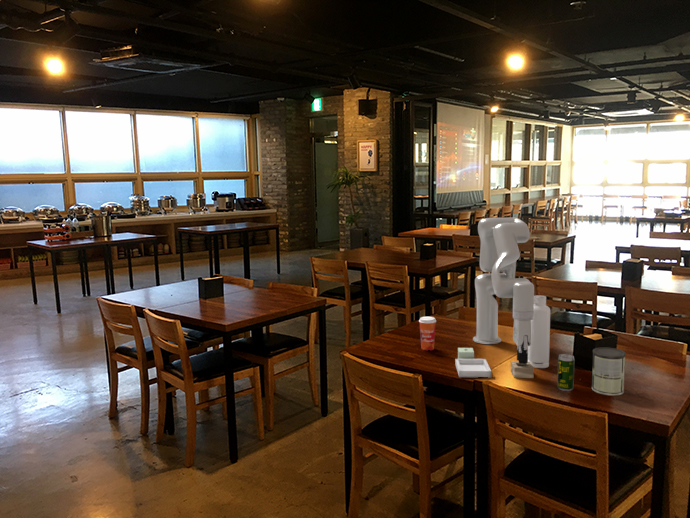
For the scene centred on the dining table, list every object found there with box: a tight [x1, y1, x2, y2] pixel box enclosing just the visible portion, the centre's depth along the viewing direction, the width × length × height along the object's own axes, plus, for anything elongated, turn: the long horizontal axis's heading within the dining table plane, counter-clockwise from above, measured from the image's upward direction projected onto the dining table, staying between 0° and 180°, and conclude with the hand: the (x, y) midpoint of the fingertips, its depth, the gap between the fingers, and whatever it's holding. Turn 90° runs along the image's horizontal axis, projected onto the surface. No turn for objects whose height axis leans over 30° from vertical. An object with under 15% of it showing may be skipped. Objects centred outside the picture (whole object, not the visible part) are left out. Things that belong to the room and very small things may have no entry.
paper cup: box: [418, 316, 437, 352], centre depth 245 cm, size 8×8×14 cm
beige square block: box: [510, 361, 535, 379], centre depth 209 cm, size 7×7×4 cm
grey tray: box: [454, 358, 492, 379], centre depth 215 cm, size 15×12×2 cm
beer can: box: [556, 353, 575, 392], centre depth 194 cm, size 5×5×12 cm
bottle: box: [528, 294, 551, 369], centre depth 219 cm, size 8×8×28 cm
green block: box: [457, 347, 475, 359], centre depth 227 cm, size 6×6×5 cm
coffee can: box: [591, 346, 627, 397], centre depth 191 cm, size 10×10×14 cm
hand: (522, 361), depth 209 cm, fingers closed
